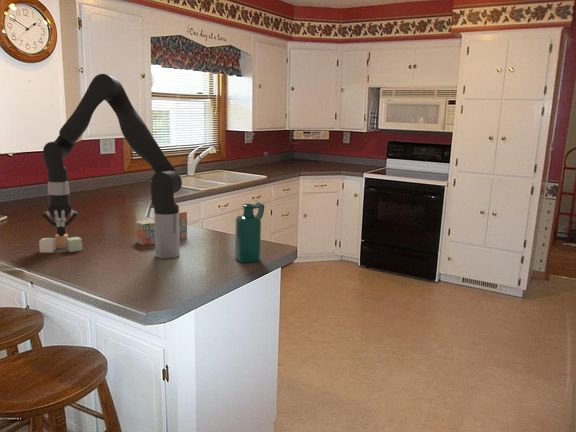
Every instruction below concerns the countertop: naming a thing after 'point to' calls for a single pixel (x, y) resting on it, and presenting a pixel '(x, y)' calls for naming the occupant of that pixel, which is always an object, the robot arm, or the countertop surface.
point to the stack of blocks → (147, 229)
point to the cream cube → (47, 244)
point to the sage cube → (74, 244)
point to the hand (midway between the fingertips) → (61, 235)
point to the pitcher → (248, 234)
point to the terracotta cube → (61, 241)
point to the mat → (59, 250)
